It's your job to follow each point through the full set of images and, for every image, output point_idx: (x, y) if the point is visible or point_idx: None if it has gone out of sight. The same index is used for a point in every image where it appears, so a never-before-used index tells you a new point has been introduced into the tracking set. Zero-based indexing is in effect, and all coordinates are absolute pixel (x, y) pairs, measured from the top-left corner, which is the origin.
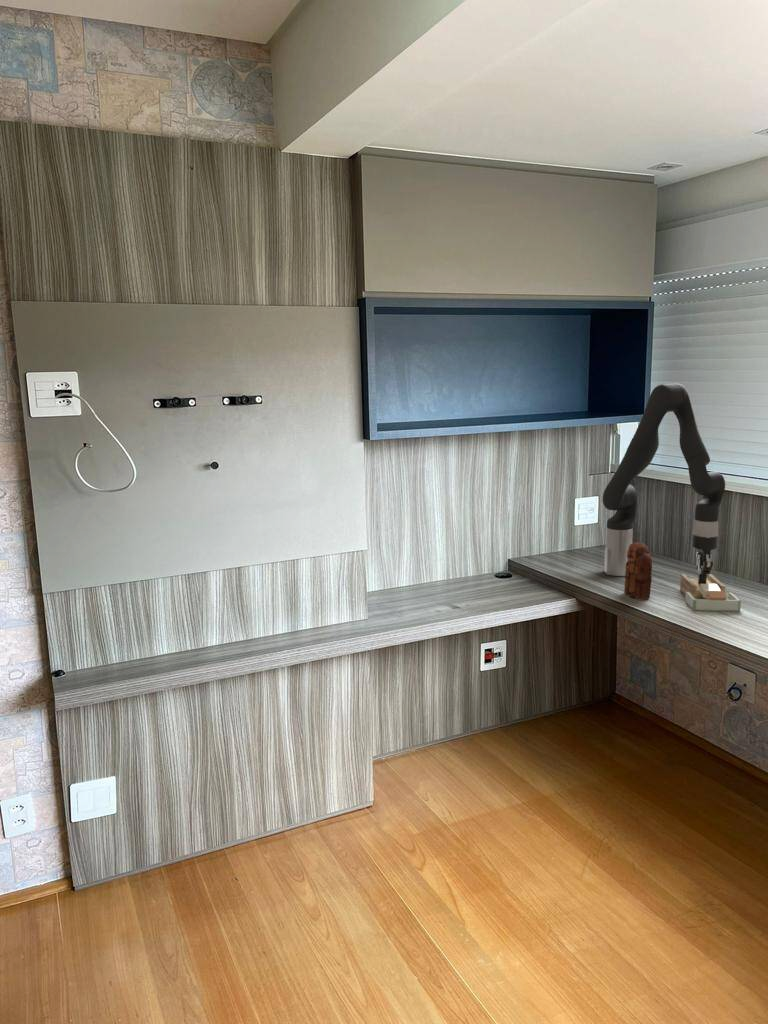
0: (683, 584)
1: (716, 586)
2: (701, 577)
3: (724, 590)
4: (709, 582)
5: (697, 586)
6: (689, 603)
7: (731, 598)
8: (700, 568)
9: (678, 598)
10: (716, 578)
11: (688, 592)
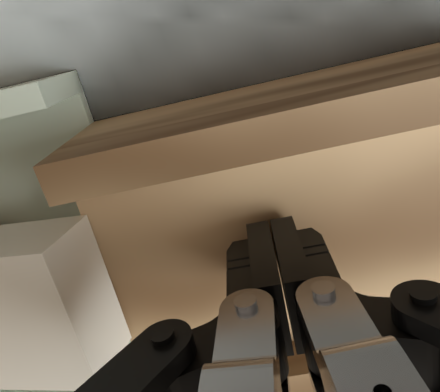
0: (414, 62)
1: (38, 377)
2: (228, 288)
3: None
4: None
5: (233, 201)
6: None
7: None
8: (211, 366)
9: (185, 9)
10: None
11: (25, 106)
